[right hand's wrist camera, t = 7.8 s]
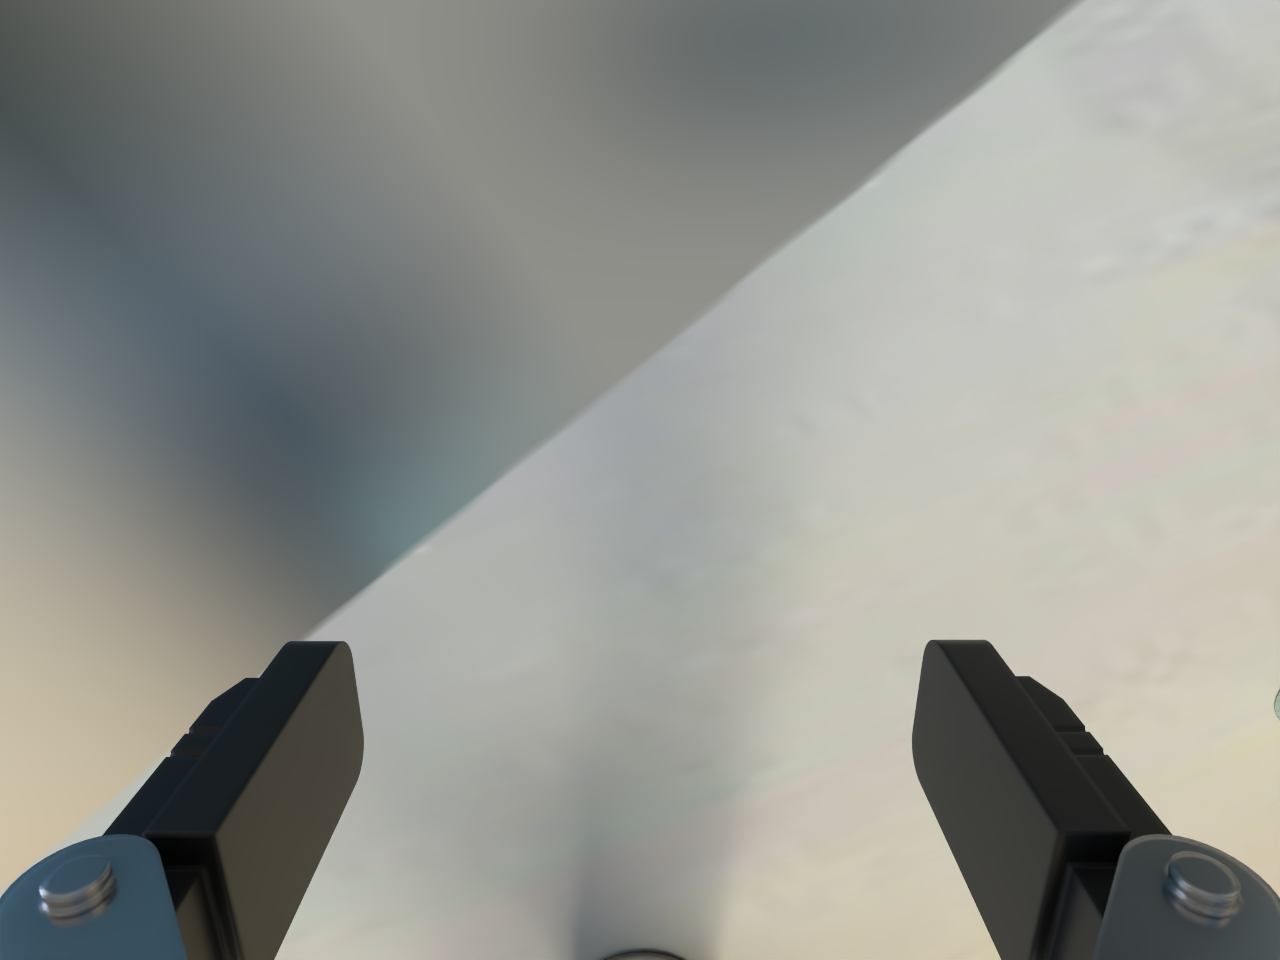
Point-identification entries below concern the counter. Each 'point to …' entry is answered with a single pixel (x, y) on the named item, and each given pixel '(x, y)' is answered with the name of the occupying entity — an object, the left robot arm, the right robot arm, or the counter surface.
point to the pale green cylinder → (1277, 705)
